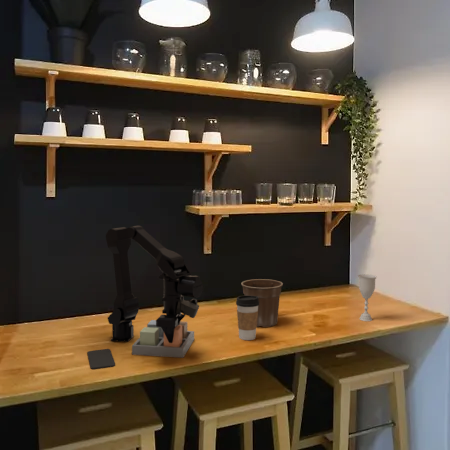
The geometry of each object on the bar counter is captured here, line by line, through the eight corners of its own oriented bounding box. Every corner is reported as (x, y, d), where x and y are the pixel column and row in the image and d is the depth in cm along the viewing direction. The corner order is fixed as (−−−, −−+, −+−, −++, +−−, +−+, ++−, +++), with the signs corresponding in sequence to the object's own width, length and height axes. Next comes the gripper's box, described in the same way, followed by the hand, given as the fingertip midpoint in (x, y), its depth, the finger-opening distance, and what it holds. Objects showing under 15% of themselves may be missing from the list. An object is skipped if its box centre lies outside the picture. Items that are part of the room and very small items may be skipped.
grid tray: (132, 354, 149) (131, 333, 148) (148, 337, 166) (147, 318, 165) (183, 357, 147) (183, 336, 146) (194, 339, 163) (194, 320, 163)
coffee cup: (252, 343, 160) (252, 300, 158) (231, 338, 164) (231, 297, 163) (263, 336, 167) (263, 295, 166) (242, 332, 172) (243, 292, 170)
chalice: (355, 320, 186) (357, 276, 184) (357, 316, 192) (358, 273, 191) (374, 322, 183) (376, 278, 182) (375, 318, 190) (377, 275, 188)
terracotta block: (163, 347, 149) (163, 329, 149) (167, 341, 154) (167, 324, 154) (178, 347, 149) (178, 329, 148) (182, 342, 154) (182, 325, 153)
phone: (109, 348, 153) (116, 364, 140) (110, 350, 154) (116, 367, 140) (86, 351, 151) (90, 368, 137) (86, 353, 151) (90, 370, 137)
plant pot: (232, 322, 183) (232, 283, 181) (258, 314, 194) (258, 276, 193) (265, 332, 172) (265, 289, 170) (290, 322, 183) (290, 282, 182)
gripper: (190, 302, 139) (190, 351, 141) (202, 287, 158) (202, 331, 159) (155, 300, 141) (155, 349, 143) (170, 286, 159) (171, 330, 161)
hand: (172, 339), depth 151 cm, fingers open, 5 cm apart
